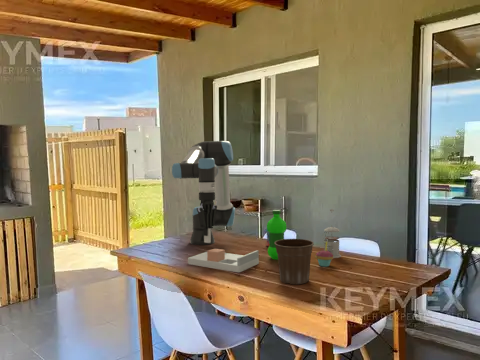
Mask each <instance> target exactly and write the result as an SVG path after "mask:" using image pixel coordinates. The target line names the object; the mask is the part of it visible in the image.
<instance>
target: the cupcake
mask: <svg viewBox="0 0 480 360" xmlns="http://www.w3.org/2000/svg"><path fill="white" fill-rule="evenodd" d="M327 242H328V241H327ZM327 242H326V247H325V251H324V249H323V250H319V251H317V252H316V254H315V259H317V262H318V265H319V266H320V267H326V268H327V267H329V266H330V265H331V262H332V261H333V259H334V258H333V254H332V253H331V252H329V251H328V250H327V248H328V247H327V246H328V245H327Z"/></svg>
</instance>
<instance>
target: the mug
mask: <svg viewBox="0 0 480 360" xmlns="http://www.w3.org/2000/svg"><path fill="white" fill-rule="evenodd" d="M264 231H265V232H266V233H265V234H266V243H265V245H266V247H269V232H268V231H267V227H265V228H264Z"/></svg>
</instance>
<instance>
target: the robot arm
mask: <svg viewBox="0 0 480 360" xmlns="http://www.w3.org/2000/svg"><path fill="white" fill-rule="evenodd" d="M233 161H234V151H233V147H232V143H231V142H230V141H228V140H212V141H211V140H209V141H207V140H206V141H205V140H204V141H201V142H198V143H196V144H194V145H192V146H191V147H190V148H189V149H188V151H187V155H186V156H185V157H184V158H183V159H182V161H181V162H175V163H172V165H171V174H172V177H173V178H174V179H198V191H199V192H198V200H199V201H200V203H199V206H195V207H193V209H192V233H191V236H190V239H189V240H190V241H189V242H190V245H193V246H207V245H213V244H215V237H214V233H213V230H212V229H213V228H214V227H232V226H234V223H235V217H236V207H234V204H232V202H231V193H230V191H231V190H230V173H229V170H230V169H229V167H230V165H231V164H232V162H233ZM215 200H216V201H215ZM214 201H215V203H214Z"/></svg>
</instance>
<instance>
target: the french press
mask: <svg viewBox="0 0 480 360" xmlns="http://www.w3.org/2000/svg"><path fill="white" fill-rule="evenodd" d="M329 211H330V212H334V211H335V210H334V209H333V208H331V209H329ZM323 231H324V232H323V234H322V236H324V239H323V240H322V242H323V244H324V246H323V247H324V249H323V251H325V247H326V242H327V251H329V252H331V253H332V254H333V259H338V258H341V257H342V255H341V254H340V239H339V237H338V236H333V235H329V233H339V232H340V229H339V228H337V227H335V226H334V227H333V226H330V227H326V228H325V229H323ZM324 234H325V235H324ZM326 235H328V236H326Z"/></svg>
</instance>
